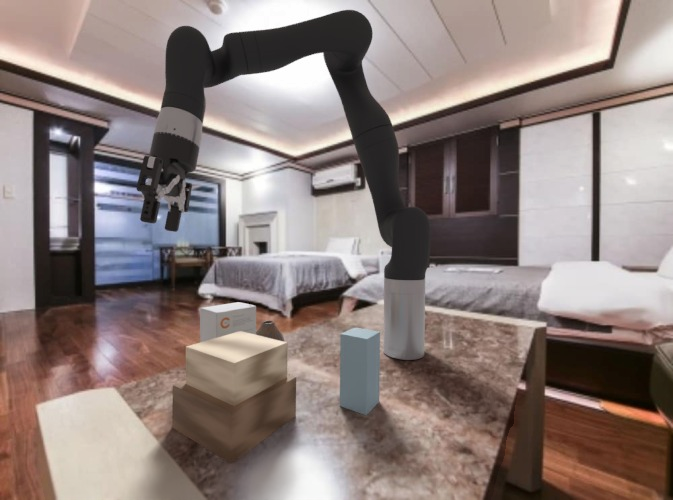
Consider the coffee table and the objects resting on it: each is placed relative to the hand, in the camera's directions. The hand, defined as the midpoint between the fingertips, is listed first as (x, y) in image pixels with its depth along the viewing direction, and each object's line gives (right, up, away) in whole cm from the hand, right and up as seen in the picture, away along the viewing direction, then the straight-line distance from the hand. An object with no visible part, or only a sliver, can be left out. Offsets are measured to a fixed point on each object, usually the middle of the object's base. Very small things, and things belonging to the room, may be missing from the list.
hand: (160, 227), depth 52 cm
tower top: (+18, -22, -12) cm, 31 cm away
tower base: (+17, -28, -12) cm, 35 cm away
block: (+35, -28, -7) cm, 45 cm away
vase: (+17, -28, +8) cm, 34 cm away
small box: (+11, -28, +3) cm, 30 cm away
